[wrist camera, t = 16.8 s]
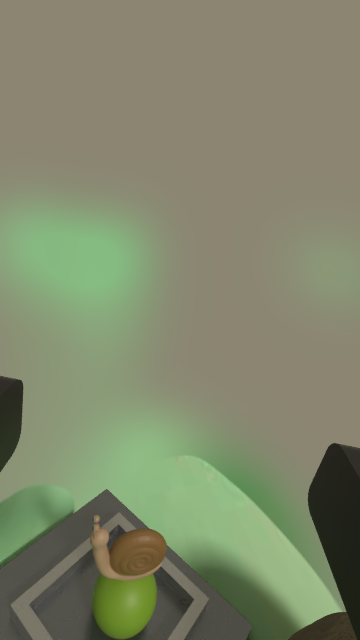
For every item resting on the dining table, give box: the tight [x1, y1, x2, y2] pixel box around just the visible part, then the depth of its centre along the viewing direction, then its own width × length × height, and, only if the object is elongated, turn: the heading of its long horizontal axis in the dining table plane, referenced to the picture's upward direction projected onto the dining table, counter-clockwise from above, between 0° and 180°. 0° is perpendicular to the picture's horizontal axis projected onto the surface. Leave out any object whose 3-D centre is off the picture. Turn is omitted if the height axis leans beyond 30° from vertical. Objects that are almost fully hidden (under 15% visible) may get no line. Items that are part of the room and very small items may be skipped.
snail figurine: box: [90, 515, 167, 639], centre depth 27 cm, size 5×6×12 cm
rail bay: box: [0, 489, 253, 640], centre depth 29 cm, size 20×16×2 cm
